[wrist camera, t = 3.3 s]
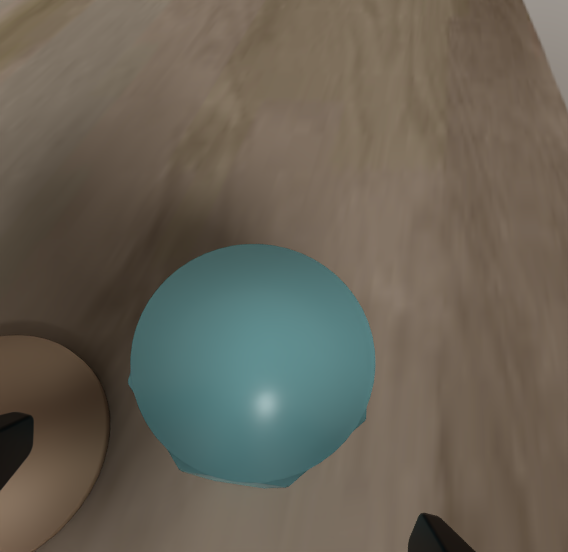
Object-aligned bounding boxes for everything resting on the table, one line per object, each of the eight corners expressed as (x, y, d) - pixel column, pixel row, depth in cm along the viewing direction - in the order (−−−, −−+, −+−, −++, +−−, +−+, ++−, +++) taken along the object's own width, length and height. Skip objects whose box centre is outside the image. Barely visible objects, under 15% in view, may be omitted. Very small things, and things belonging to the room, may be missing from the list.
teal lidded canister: (333, 431, 21) (424, 374, 10) (232, 516, 19) (220, 550, 8) (262, 338, 23) (279, 210, 12) (165, 405, 21) (85, 320, 10)
